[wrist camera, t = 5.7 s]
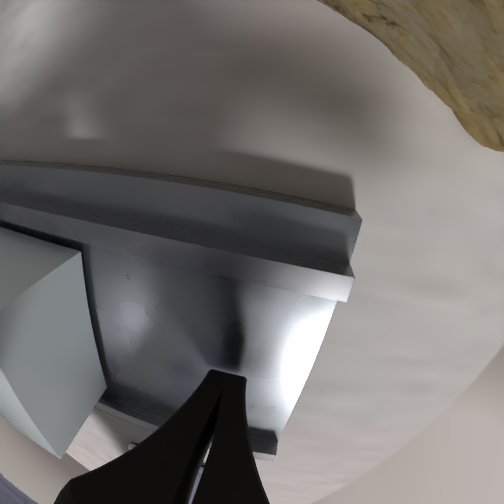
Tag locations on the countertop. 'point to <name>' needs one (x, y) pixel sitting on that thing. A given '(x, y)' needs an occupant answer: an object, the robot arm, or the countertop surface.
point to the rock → (446, 53)
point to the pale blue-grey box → (45, 341)
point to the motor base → (191, 282)
